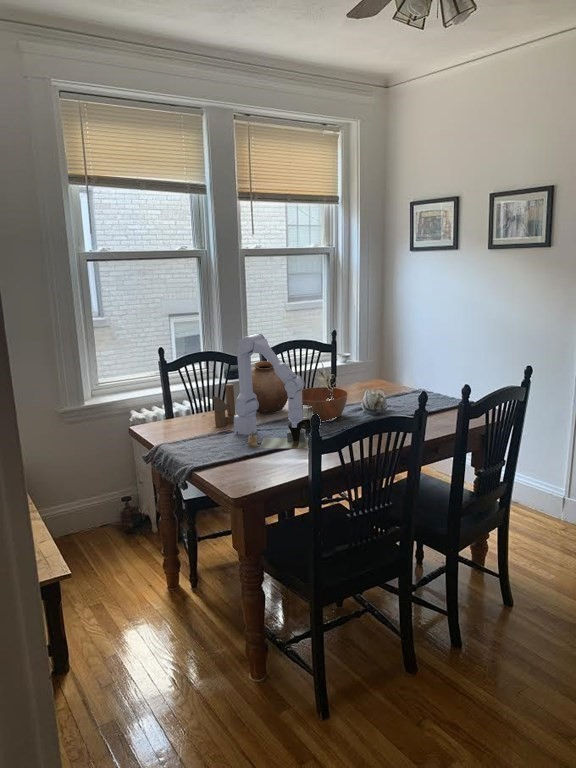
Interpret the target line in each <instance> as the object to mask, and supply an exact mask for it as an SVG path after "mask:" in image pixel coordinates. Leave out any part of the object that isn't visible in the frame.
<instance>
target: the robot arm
mask: <svg viewBox="0 0 576 768" xmlns="http://www.w3.org/2000/svg"><path fill="white" fill-rule="evenodd" d="M254 354H258V355H259V354H260V355H262V357H264V358H265V359H266V361H269V362H270V363H271V364H272V365H273V366H274V368H275V373H276V374H277V376H278V377H279V378H280V379H281V380H282V382H283V383H284V384H285V386H284V387H285V390H286V391H287V396H288V400H287V403H288V421H289V422H290V423H288V424H287V425H288V426H287V428H288V429H290V431H291V434H292V438H293V441H299V437H300V430H301V429H303V423H304V421H305V419H306V417H303V404H302V390H303V389H305V388H304V387H305V385H306V384H305V380H304V379H303V377H302V376H301V375H300V376H299V375H297V374H296V373H295V372H294V371H293V370H292V369H291V367H290V365H289V364H288V363H286V362H282V361H281V360H280V359H279V357H278V356H277V355H276V353H275V351H274V350H273V349H272V348H271V347H270V345H269V342H268V339H267V338H265V336H264V335H263V334H262V333H259V332H257V333H255V334H252V335H247V336H246V335H245V336H243V337H242V338H241V339H240V340H239V341H238V347H237V353H236V356H237V357H236V359H237V369H238V370H237V371H238V385H239V394H238V396H237V397H236V399H235V414H237V415H235V416H234V423H233V433H234V435H244V436H247V435H248V436H251V435H252V434H251V432H253V434H254V435H255V434H257V432H258V431H257V430H258V428H257V412H256V410H258V408H259V403H258V401H257V396H256V394H254V393H253V386H252V357H251V356H252V355H254Z"/></svg>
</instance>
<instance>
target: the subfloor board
mask: <svg viewBox="0 0 576 768" xmlns="http://www.w3.org/2000/svg"><path fill="white" fill-rule="evenodd" d="M308 438H309V437H306V439H305V442H287V437H283V438H282V437H264V438H263V439H262V441H261V444H260V446H259V449H309V448H308Z"/></svg>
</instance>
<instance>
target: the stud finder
mask: <svg viewBox="0 0 576 768" xmlns="http://www.w3.org/2000/svg"><path fill="white" fill-rule="evenodd" d="M286 438H287V442H305V439H306V438H307V437H306V428H301V430H300V437H299V441H293V438H292V434H291V431H290V429H289V428H288V429H287V431H286Z"/></svg>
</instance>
